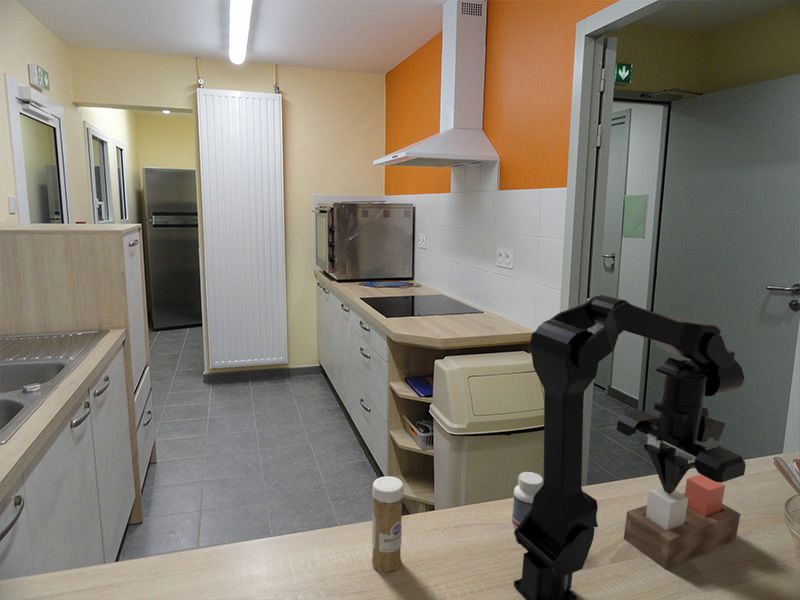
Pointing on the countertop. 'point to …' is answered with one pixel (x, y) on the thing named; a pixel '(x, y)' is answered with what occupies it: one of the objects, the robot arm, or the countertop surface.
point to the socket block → (681, 535)
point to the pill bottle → (524, 495)
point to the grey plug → (666, 508)
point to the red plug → (704, 495)
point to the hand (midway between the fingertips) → (668, 492)
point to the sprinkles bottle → (387, 523)
